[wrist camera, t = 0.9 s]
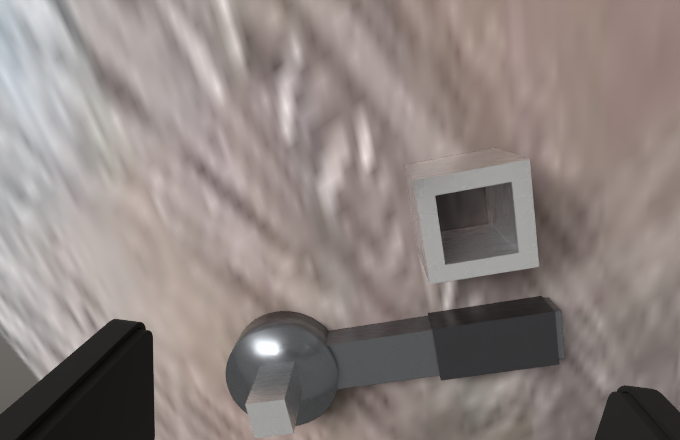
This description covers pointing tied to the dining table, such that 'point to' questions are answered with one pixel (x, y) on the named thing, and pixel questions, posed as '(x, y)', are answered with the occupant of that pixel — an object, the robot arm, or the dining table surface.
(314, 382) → the ratchet
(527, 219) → the socket
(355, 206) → the dining table surface
